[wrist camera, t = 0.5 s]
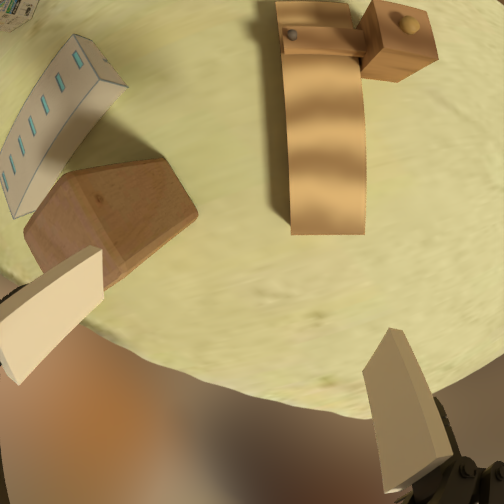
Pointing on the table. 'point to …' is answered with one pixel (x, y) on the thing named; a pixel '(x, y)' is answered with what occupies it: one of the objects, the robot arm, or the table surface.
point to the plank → (323, 128)
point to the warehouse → (56, 122)
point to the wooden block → (110, 216)
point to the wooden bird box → (373, 41)
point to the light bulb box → (15, 13)
